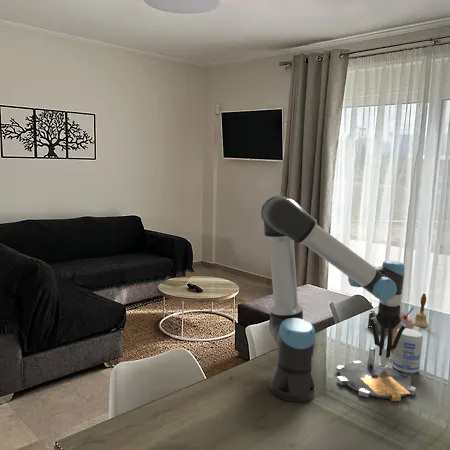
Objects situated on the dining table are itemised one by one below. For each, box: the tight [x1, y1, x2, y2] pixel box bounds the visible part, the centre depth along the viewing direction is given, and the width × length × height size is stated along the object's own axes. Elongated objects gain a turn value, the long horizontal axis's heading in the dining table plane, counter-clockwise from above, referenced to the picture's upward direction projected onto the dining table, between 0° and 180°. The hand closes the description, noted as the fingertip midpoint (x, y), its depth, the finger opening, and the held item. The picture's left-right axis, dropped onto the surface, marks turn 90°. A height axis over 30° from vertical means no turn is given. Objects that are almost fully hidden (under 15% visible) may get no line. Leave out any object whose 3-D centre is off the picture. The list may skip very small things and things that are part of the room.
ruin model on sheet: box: [367, 309, 388, 336], centre depth 216 cm, size 11×3×10 cm, turn 41°
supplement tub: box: [392, 328, 424, 374], centre depth 175 cm, size 10×10×15 cm
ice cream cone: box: [387, 307, 415, 352], centre depth 193 cm, size 11×11×20 cm
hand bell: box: [412, 293, 430, 328], centre depth 229 cm, size 8×8×16 cm
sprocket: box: [335, 347, 417, 402], centre depth 162 cm, size 27×27×9 cm
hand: (383, 364), depth 169 cm, fingers closed
